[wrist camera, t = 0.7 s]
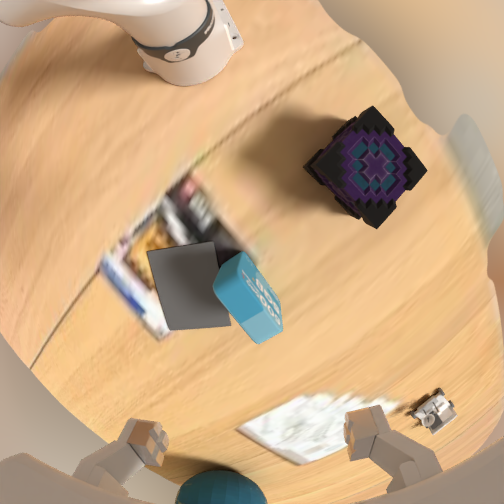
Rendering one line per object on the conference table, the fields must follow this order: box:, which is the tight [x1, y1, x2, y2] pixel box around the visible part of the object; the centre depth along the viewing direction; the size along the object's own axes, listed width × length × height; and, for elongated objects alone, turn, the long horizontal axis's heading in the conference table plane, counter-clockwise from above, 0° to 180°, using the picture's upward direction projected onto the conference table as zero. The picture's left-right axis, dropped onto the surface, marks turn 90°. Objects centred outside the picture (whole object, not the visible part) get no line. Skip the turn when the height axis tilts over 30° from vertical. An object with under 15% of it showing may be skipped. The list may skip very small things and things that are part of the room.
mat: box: [147, 241, 231, 330], centre depth 50 cm, size 17×13×1 cm
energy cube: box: [303, 106, 428, 229], centre depth 38 cm, size 12×12×12 cm
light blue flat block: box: [213, 251, 283, 344], centre depth 44 cm, size 12×4×12 cm, turn 35°
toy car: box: [410, 388, 458, 435], centre depth 55 cm, size 18×10×12 cm
